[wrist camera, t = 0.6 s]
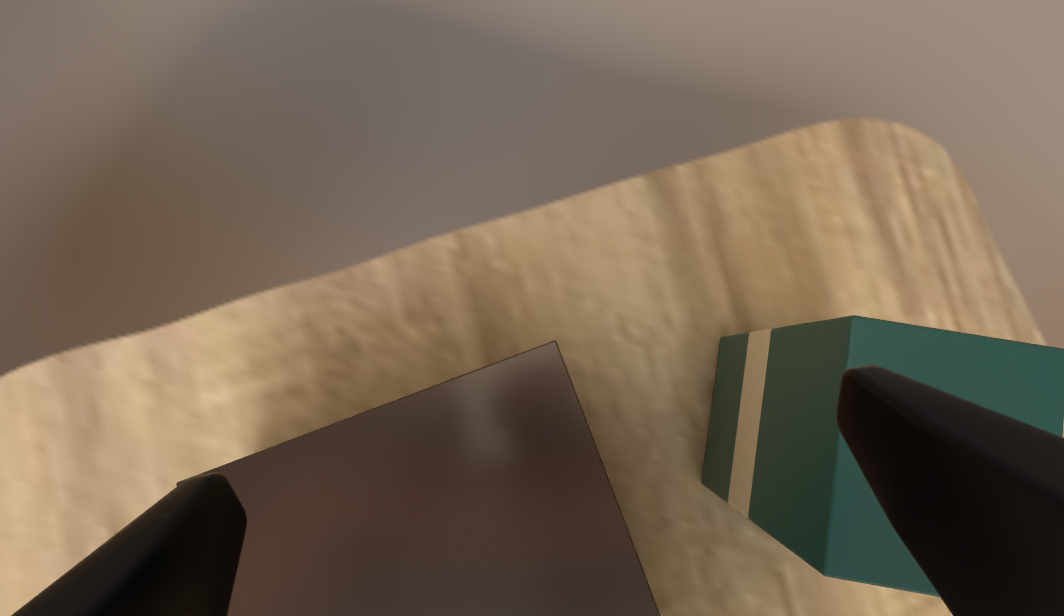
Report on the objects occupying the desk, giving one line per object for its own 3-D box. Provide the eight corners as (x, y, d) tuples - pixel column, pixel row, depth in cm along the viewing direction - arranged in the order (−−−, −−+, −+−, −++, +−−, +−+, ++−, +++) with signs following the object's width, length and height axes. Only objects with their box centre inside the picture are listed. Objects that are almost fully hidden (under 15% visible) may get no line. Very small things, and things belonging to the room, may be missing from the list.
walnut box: (687, 697, 22) (723, 781, 17) (358, 824, 21) (309, 941, 17) (554, 344, 23) (555, 340, 19) (245, 460, 23) (175, 483, 19)
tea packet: (842, 356, 23) (1071, 348, 13) (826, 505, 22) (1052, 619, 12) (719, 336, 23) (851, 313, 13) (699, 483, 22) (822, 577, 13)
